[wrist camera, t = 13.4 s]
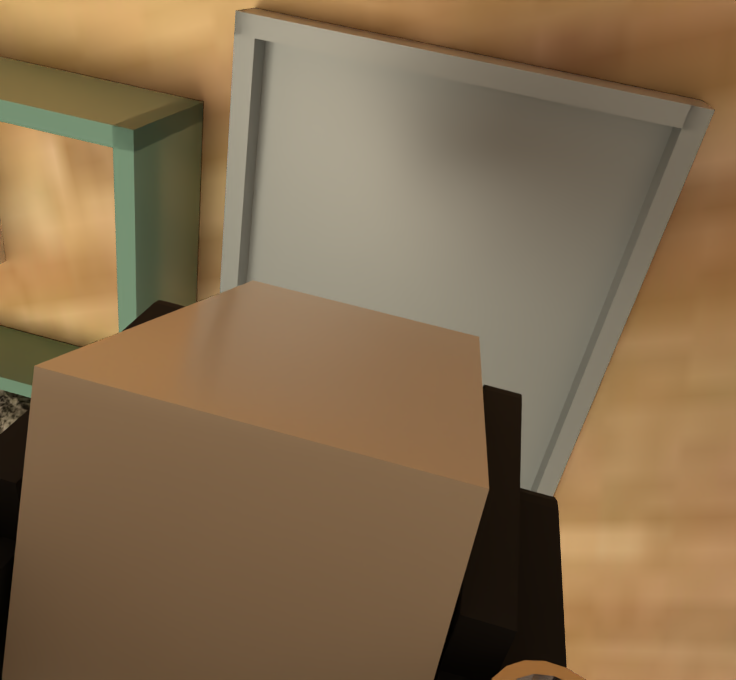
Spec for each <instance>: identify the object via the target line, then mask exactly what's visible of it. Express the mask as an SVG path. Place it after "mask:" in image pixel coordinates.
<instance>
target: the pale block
mask: <svg viewBox="0 0 736 680" xmlns="http://www.w3.org/2000/svg"><path fill="white" fill-rule="evenodd" d="M5 261H6V258H5V251H4V243H3V236H2V228H1V220H0V264H1V263H3V262H5Z"/></svg>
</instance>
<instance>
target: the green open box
mask: <svg viewBox="0 0 736 680" xmlns="http://www.w3.org/2000/svg"><path fill="white" fill-rule="evenodd" d="M0 121H1V122H5V123H10V124H14V125H18V126H22V127H27V128H31V129H35V130H40V131H44V132H48V133H52V134H57V135H61V136H65V137H70V138H74V139H78V140H82V141H87V142H91V143H95V144H99V145H104V146H108V147H112V148H113V164H114V194H115V225H116V256H117V286H118V317H119V332H122V331H123V330H124V329H125V328H126V327H127V326H128V325H129V324H131V323H132V322H133V321H134V320H135V319H136V318H137V317H138V316H140V315H141V314H142V313H143V312H144V311H145V310H146V309H148V308H149V307H150V306H151V305H152V304H153V303H154V302H156V301H158V300H163V301H167V302H171V303H175V304H178V305H182V306H189V305H191V304H194V303H196V294H197V266H198V238H199V210H200V182H201V154H202V126H203V102H202V101H198V100H193V99H189V98H184V97H180V96H176V95H171V94H167V93H162V92H158V91H153V90H149V89H144V88H140V87H135V86H131V85H126V84H122V83H117V82H113V81H108V80H104V79H99V78H95V77H90V76H86V75H81V74H77V73H72V72H68V71H64V70H59V69H55V68H50V67H46V66H41V65H37V64H32V63H28V62H23V61H19V60H14V59H10V58H5V57H1V56H0ZM79 348H81V347H78V346H74V345H71V344H67V343H63V342H59V341H56V340H52V339H48V338H44V337H41V336H37V335H33V334H29V333H26V332H22V331H18V330H14V329H11V328H7V327H3V326H0V390H4V391H8V392H11V393H15V394H19V395H22V396H26V397H29V398H31V393H32V383H33V374H34V366H35V365H38V364H40V363H43V362H45V361H48V360H50V359H53V358H56V357H58V356H61V355H63V354H66V353H68V352H71V351H73V350H76V349H79Z"/></svg>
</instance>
